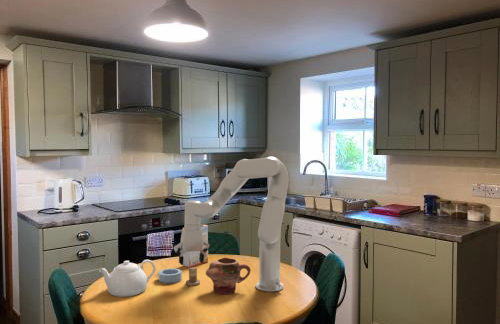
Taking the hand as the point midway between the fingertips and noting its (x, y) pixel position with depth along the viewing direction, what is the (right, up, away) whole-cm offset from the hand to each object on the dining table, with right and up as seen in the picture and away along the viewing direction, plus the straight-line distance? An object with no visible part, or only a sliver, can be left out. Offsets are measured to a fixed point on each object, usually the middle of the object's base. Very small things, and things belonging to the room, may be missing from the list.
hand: (191, 263), depth 199 cm
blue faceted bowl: (-11, -9, +6) cm, 16 cm away
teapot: (-27, -10, -9) cm, 30 cm away
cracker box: (-2, -9, +33) cm, 34 cm away
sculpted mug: (+18, -11, -9) cm, 22 cm away
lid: (+1, -10, 0) cm, 10 cm away
